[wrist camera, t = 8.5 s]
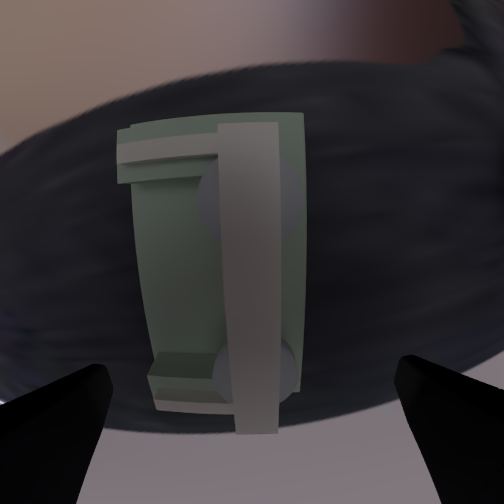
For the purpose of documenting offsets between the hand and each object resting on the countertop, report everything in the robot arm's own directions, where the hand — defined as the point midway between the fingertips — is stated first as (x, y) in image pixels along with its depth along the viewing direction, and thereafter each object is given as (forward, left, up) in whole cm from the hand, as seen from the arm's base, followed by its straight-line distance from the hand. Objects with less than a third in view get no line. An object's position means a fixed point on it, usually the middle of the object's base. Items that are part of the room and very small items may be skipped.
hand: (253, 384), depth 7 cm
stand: (+2, 0, -12) cm, 12 cm away
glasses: (+2, 0, -8) cm, 8 cm away
